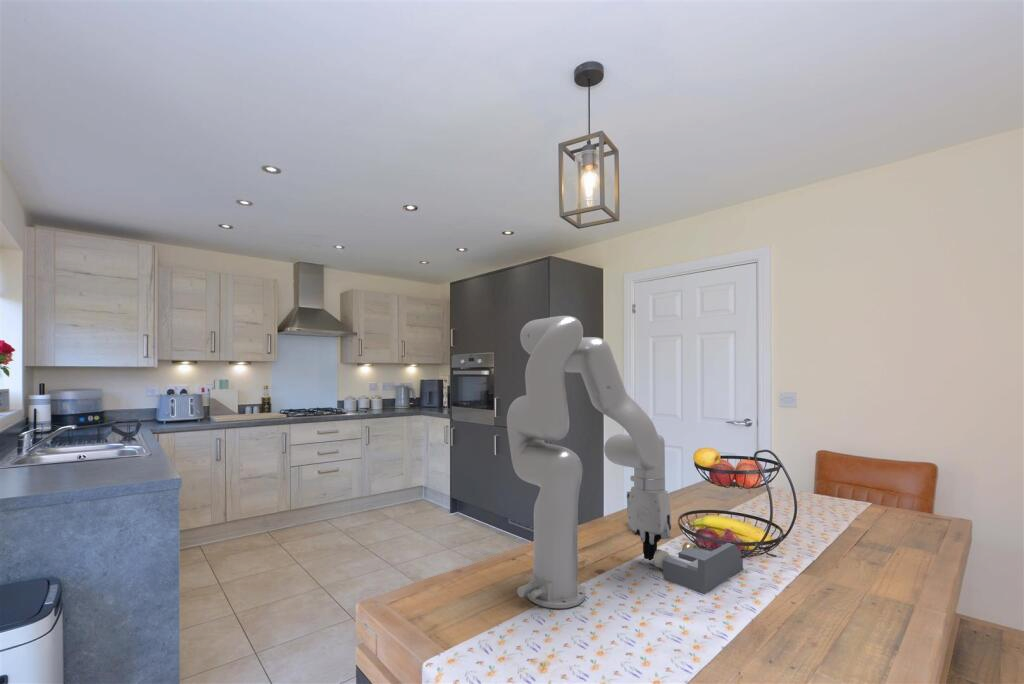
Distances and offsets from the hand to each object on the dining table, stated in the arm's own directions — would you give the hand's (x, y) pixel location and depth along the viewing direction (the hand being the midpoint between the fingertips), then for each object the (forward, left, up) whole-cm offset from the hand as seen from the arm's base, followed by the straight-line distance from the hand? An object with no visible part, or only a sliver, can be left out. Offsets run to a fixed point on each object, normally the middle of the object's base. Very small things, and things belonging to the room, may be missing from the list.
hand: (650, 558), depth 120 cm
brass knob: (+10, -9, -1) cm, 14 cm away
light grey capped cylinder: (0, -7, -1) cm, 7 cm away
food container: (+22, +16, -2) cm, 28 cm away
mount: (+5, -12, -2) cm, 13 cm away
